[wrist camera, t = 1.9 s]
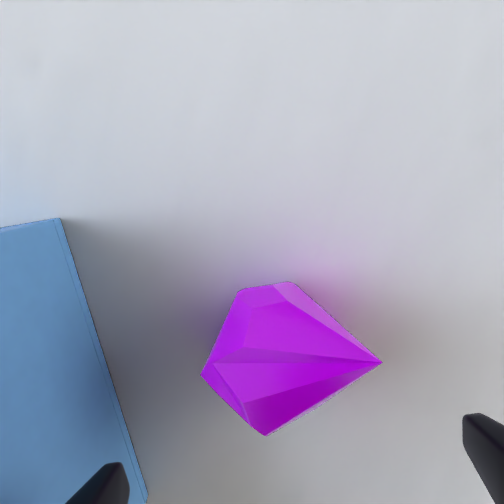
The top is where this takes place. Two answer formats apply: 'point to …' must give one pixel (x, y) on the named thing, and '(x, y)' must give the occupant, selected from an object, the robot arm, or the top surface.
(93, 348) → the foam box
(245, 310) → the crystal
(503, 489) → the robot arm
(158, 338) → the top surface
